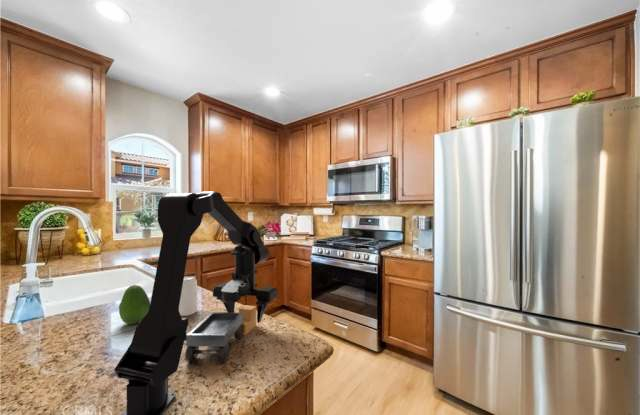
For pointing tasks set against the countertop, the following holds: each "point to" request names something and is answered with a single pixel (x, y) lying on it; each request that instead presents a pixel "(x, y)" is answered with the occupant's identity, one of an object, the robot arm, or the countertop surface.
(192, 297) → the can
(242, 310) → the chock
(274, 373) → the countertop surface
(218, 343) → the tray
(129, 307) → the avocado
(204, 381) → the countertop surface
